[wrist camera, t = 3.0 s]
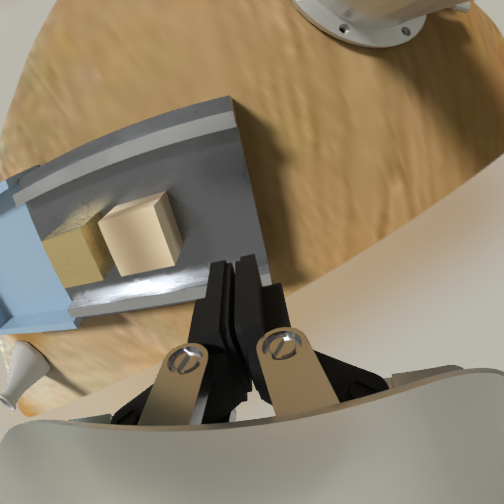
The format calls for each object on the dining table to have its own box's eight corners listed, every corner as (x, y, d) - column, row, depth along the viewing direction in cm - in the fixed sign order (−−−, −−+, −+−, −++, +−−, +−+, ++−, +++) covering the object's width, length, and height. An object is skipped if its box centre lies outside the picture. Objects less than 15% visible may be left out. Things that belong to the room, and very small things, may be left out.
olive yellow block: (98, 211, 19) (80, 228, 16) (118, 258, 21) (104, 280, 18) (60, 224, 19) (41, 241, 17) (80, 268, 21) (64, 288, 18)
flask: (58, 369, 34) (34, 420, 25) (37, 374, 35) (15, 419, 26) (26, 335, 31) (-4, 385, 22) (8, 343, 32) (-19, 387, 23)
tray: (38, 164, 20) (5, 179, 16) (95, 298, 27) (77, 328, 23) (-32, 210, 22) (-57, 227, 17) (17, 311, 29) (-1, 334, 24)
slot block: (231, 97, 19) (228, 94, 15) (268, 260, 26) (274, 295, 21) (43, 167, 21) (8, 184, 16) (96, 293, 27) (77, 326, 23)
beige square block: (165, 191, 19) (153, 205, 16) (183, 243, 20) (175, 265, 18) (115, 206, 19) (97, 222, 16) (134, 254, 21) (121, 276, 18)
